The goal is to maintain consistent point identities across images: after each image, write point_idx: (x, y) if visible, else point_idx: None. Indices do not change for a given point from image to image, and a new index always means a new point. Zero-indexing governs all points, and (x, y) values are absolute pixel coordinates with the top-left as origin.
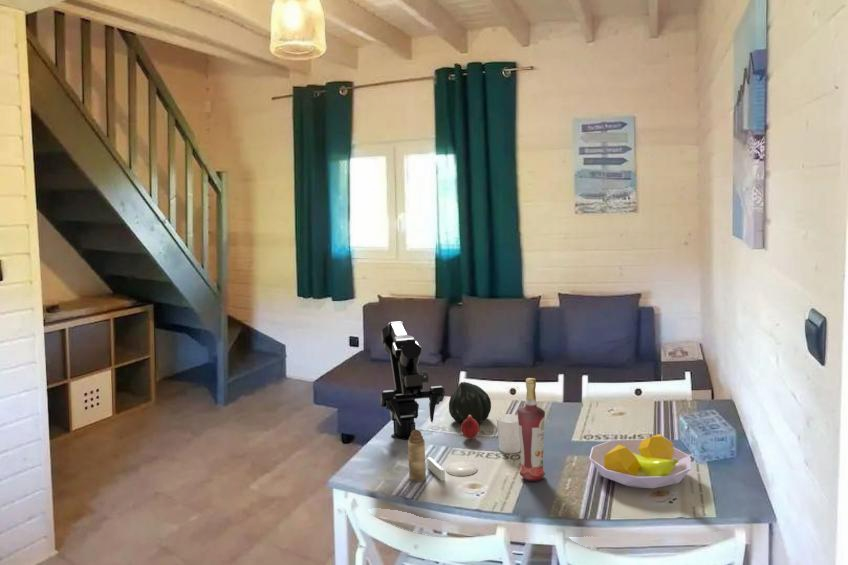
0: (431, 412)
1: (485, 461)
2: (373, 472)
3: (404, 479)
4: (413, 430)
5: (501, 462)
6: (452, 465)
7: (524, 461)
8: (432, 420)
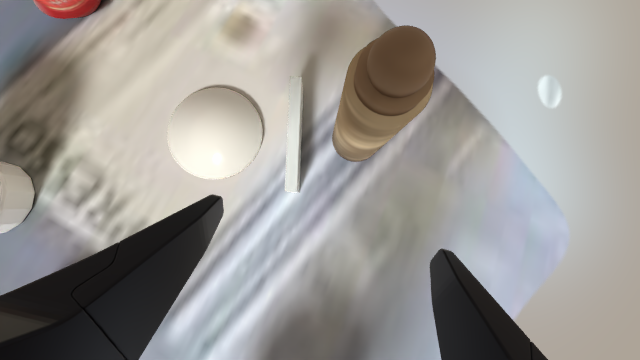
0: (175, 230)
1: (123, 152)
2: (459, 240)
3: (391, 150)
4: (425, 50)
5: (87, 123)
6: (229, 162)
7: None
8: (214, 195)
